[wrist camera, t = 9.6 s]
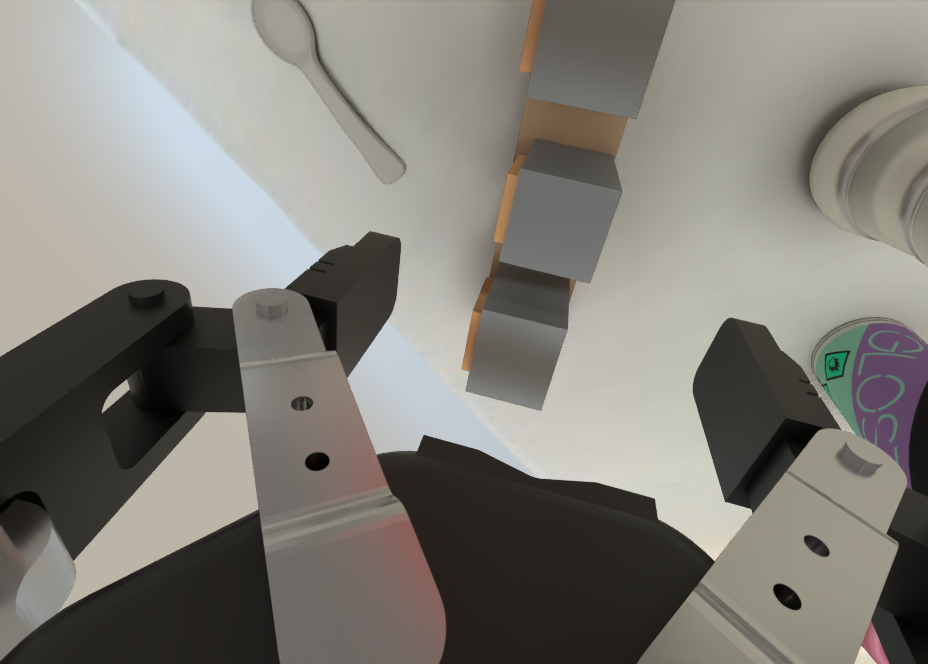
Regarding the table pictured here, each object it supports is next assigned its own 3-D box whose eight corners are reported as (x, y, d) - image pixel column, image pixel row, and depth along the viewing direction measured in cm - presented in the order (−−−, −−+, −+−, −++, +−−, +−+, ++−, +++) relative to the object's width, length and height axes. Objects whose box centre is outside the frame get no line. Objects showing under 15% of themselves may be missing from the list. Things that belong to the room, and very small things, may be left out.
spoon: (283, -29, 26) (264, -31, 24) (419, 159, 30) (411, 169, 29) (250, 10, 27) (230, 11, 26) (386, 185, 32) (376, 195, 30)
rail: (568, -80, 22) (559, -152, 14) (676, -62, 22) (735, -126, 13) (484, 319, 34) (452, 409, 26) (553, 336, 34) (543, 434, 25)
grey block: (612, 155, 24) (622, 191, 18) (588, 229, 26) (589, 283, 20) (525, 135, 25) (507, 165, 19) (508, 210, 27) (487, 258, 21)
